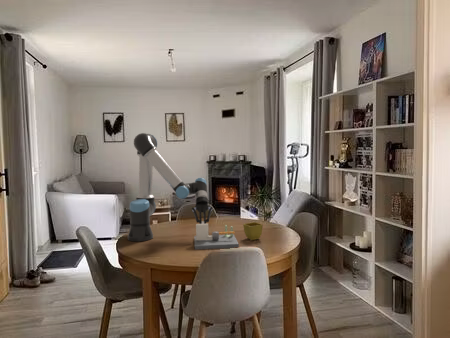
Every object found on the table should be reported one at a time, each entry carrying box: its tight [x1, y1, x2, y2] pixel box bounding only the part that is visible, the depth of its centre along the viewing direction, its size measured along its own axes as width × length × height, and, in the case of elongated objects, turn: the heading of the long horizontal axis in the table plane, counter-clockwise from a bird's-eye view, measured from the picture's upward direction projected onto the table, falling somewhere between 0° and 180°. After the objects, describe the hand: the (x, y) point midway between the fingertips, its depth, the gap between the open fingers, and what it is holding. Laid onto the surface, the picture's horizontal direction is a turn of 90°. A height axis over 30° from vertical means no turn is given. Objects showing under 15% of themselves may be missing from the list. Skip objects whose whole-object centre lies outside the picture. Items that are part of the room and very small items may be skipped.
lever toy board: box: [193, 224, 240, 250], centre depth 206 cm, size 24×22×8 cm
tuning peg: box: [195, 223, 236, 240], centre depth 205 cm, size 22×4×9 cm, turn 96°
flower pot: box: [242, 221, 263, 241], centre depth 215 cm, size 9×9×9 cm
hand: (203, 231), depth 209 cm, fingers closed
